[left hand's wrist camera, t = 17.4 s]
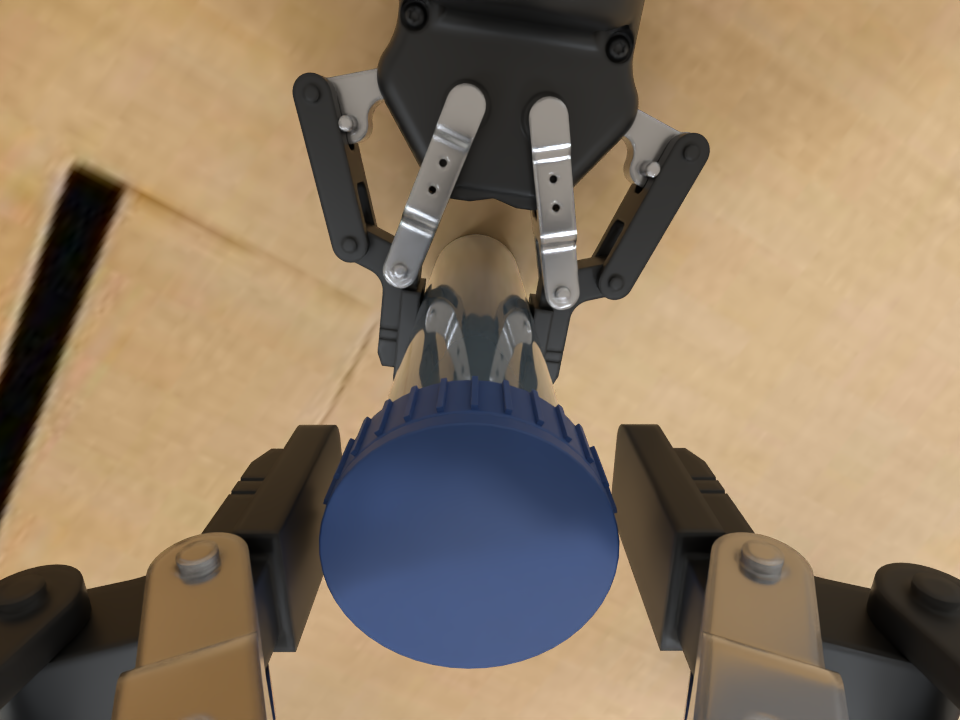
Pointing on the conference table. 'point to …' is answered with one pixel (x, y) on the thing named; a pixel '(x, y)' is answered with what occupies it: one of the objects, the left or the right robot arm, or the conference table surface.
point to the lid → (469, 526)
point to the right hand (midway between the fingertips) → (466, 381)
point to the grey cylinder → (474, 324)
